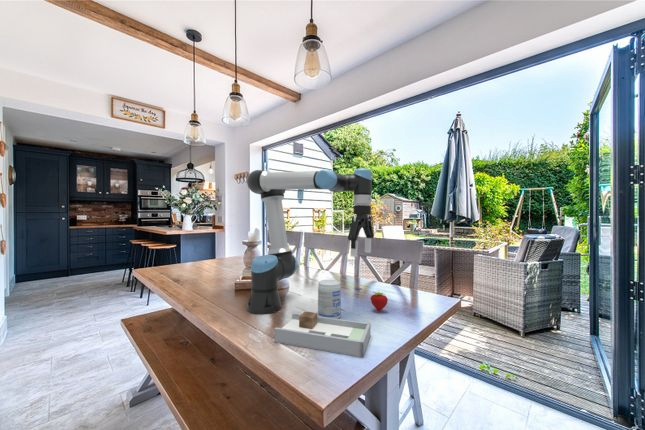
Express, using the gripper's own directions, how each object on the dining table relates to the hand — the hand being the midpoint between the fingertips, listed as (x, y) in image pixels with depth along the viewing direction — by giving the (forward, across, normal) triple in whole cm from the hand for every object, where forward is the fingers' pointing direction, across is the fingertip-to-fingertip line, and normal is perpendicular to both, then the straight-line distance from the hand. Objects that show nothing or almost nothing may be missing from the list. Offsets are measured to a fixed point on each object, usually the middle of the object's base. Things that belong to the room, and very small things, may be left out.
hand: (361, 254), depth 116 cm
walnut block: (+23, -27, +8) cm, 37 cm away
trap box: (+26, -28, 0) cm, 38 cm away
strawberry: (+26, +7, -6) cm, 27 cm away
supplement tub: (+26, -10, +9) cm, 29 cm away
